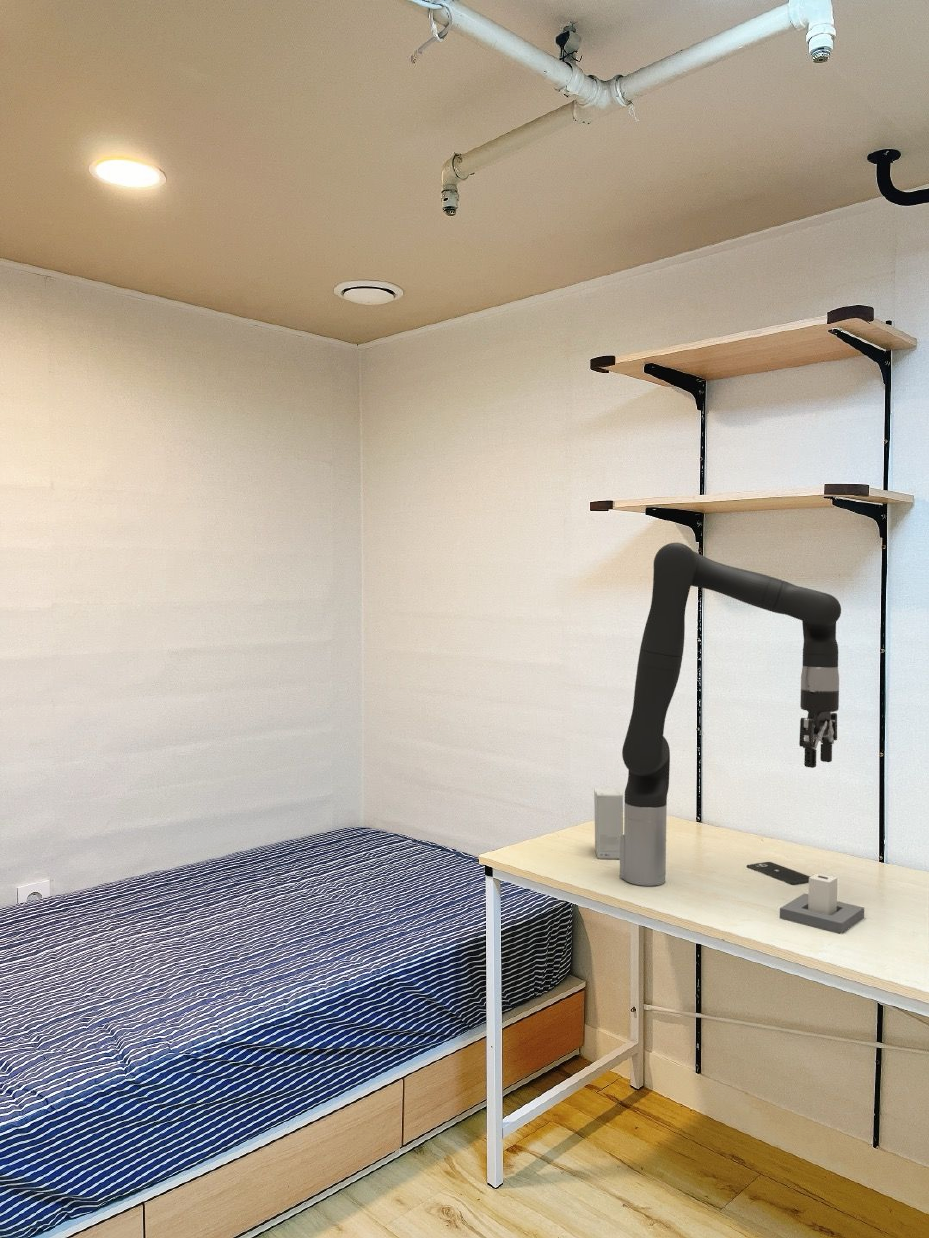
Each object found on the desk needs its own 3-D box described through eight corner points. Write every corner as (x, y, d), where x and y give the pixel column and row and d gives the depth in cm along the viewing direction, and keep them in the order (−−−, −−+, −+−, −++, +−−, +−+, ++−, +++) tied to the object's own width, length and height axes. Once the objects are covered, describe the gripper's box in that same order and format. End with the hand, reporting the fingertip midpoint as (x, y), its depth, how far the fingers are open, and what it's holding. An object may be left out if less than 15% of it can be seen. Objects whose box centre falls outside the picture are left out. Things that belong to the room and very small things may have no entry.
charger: (808, 917, 179) (808, 876, 179) (816, 912, 182) (817, 872, 182) (828, 922, 176) (829, 881, 176) (836, 917, 179) (837, 876, 179)
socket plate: (779, 917, 179) (779, 907, 179) (804, 903, 188) (804, 893, 188) (841, 933, 171) (841, 923, 171) (864, 917, 180) (864, 907, 180)
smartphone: (769, 864, 216) (769, 860, 216) (818, 882, 202) (818, 879, 202) (744, 868, 213) (744, 864, 213) (792, 887, 199) (792, 883, 199)
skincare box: (623, 859, 217) (624, 795, 217) (595, 859, 218) (596, 794, 217) (619, 850, 226) (620, 787, 225) (593, 849, 226) (593, 787, 226)
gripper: (815, 684, 199) (813, 757, 199) (788, 688, 188) (786, 766, 189) (850, 686, 194) (848, 762, 194) (824, 691, 183) (822, 771, 184)
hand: (818, 764), depth 191 cm, fingers open, 8 cm apart
